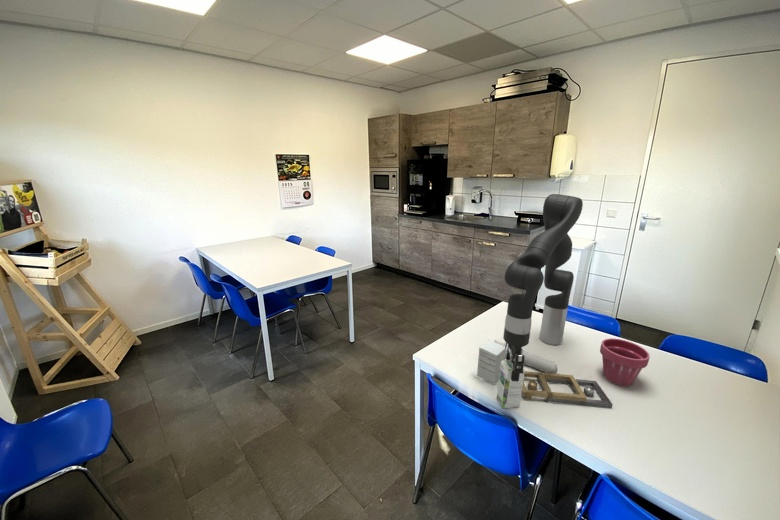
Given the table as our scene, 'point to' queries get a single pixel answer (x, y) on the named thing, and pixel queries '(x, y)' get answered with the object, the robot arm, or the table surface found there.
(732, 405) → the table surface
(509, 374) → the syrup box
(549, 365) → the tube
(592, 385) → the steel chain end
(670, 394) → the table surface
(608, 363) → the plant pot
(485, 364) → the supplement box
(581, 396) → the tan wooden frame
